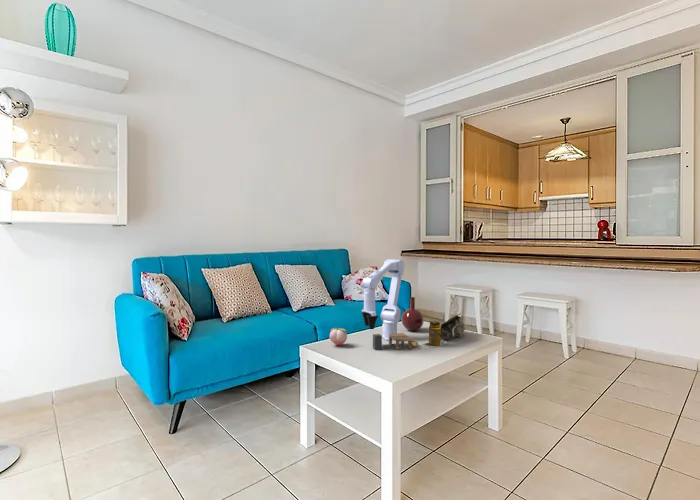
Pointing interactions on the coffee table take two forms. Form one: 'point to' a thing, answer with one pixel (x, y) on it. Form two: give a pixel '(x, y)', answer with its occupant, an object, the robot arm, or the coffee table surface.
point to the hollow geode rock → (452, 328)
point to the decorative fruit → (338, 336)
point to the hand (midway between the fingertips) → (369, 327)
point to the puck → (414, 344)
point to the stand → (400, 339)
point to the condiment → (434, 335)
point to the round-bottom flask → (412, 317)
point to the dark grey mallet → (378, 343)
